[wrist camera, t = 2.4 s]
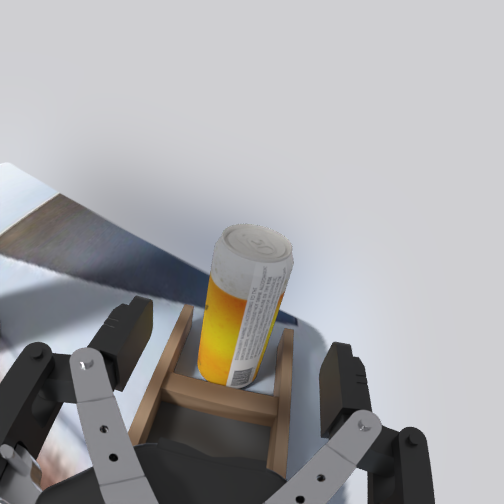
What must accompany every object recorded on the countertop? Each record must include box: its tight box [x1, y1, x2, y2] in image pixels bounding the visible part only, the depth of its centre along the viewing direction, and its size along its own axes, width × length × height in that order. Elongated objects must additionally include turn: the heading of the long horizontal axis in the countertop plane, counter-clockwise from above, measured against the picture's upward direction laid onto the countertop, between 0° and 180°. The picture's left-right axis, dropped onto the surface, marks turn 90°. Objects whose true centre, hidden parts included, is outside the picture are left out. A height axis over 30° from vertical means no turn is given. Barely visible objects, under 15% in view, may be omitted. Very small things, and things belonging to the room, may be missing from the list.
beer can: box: [197, 224, 294, 389], centre depth 28 cm, size 6×6×15 cm
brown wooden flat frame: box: [128, 304, 294, 479], centre depth 19 cm, size 36×12×3 cm, turn 173°
